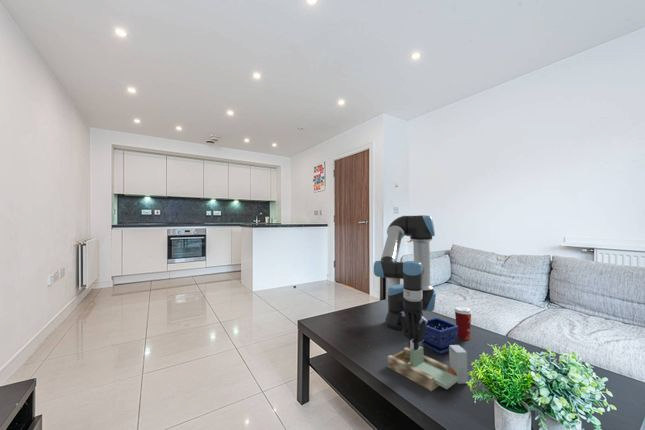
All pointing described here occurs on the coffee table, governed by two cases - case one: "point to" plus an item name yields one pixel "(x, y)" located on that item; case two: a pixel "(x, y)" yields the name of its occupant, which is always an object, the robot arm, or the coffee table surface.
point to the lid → (432, 369)
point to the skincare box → (458, 363)
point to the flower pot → (439, 335)
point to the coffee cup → (463, 322)
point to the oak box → (422, 378)
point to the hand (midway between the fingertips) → (413, 356)
